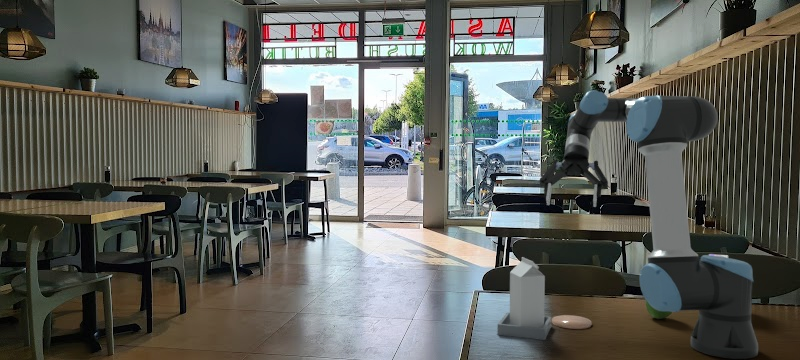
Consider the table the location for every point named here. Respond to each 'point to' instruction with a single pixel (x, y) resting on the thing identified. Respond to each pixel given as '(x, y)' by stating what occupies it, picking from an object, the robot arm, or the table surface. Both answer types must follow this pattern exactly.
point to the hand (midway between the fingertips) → (570, 203)
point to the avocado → (656, 312)
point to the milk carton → (527, 295)
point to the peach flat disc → (571, 322)
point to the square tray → (523, 329)
